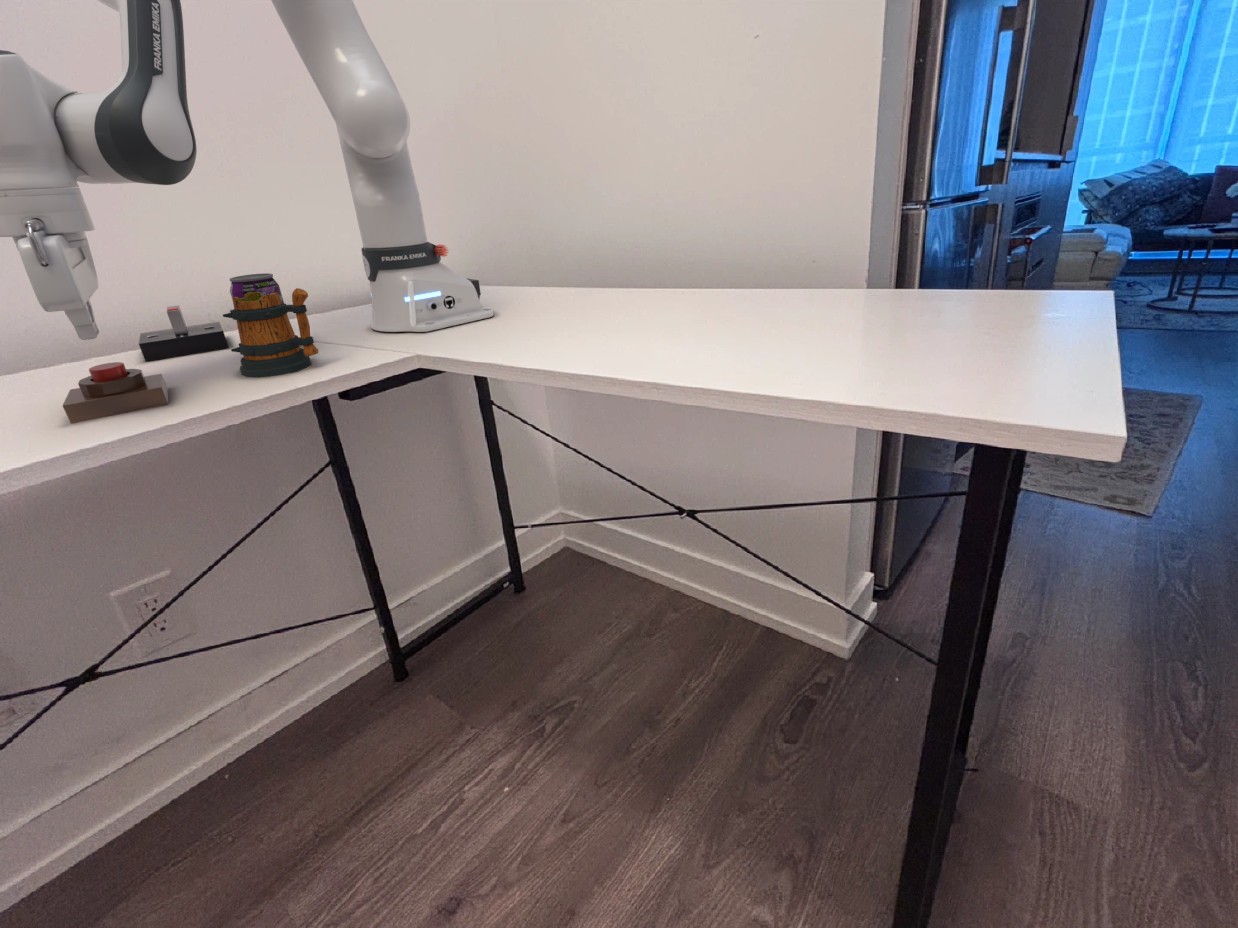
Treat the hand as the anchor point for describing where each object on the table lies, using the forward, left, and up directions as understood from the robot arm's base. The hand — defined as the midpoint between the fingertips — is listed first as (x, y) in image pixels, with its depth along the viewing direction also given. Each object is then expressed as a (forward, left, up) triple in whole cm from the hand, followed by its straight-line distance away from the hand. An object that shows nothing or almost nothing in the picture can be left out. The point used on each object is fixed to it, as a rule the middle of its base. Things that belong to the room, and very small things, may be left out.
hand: (90, 337), depth 77 cm
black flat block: (-8, -31, -9) cm, 33 cm away
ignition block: (0, 0, -9) cm, 9 cm away
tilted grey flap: (-8, -31, -6) cm, 32 cm away
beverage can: (-20, -18, -9) cm, 28 cm away
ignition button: (0, 0, -5) cm, 5 cm away
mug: (-20, -4, -9) cm, 23 cm away
